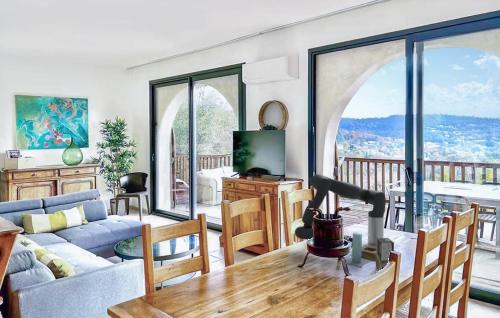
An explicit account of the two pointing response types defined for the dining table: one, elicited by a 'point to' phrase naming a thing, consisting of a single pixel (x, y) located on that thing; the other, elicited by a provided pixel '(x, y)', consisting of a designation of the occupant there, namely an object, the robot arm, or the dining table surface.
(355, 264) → the slate mat
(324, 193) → the robot arm
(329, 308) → the dining table surface
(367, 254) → the walnut holder
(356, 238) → the teal peg
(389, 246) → the coffee box
